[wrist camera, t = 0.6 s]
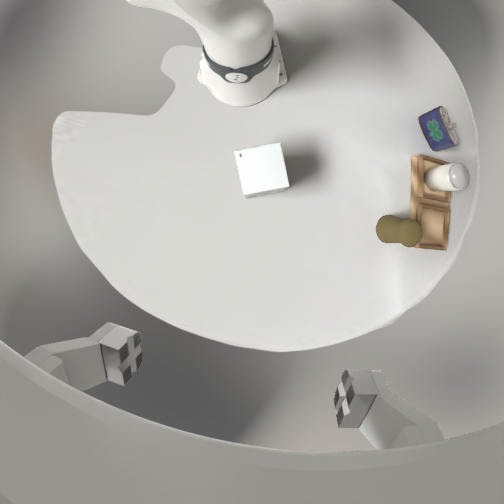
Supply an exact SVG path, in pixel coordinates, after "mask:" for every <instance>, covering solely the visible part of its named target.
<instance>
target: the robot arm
mask: <svg viewBox="0 0 504 504" xmlns="http://www.w3.org/2000/svg"><path fill="white" fill-rule="evenodd" d="M126 1H127V2H129V3H130V4H132V5H134V6H137V7H147V8H153V9H158V10H162V11H165V12H168V13H170V14H172V15H175V16H177V17H179V18H181V19H182V20H184V21H186V22H187V23H189V24H190V25H191V26H192V27H194V28H195V29H196V31H197V32H198V34H199V36H200V38H201V40H202V43H203V52H202V57H203V59H202V61H200V66H201V68H200V71H199V73H198V76H197V78H198V81H199V82H200V83H201V84H203V85H205V86H207V87H208V88H209V90H210V91H211V93H212V94H213V95H214V96H215V97H216V98H217V99H218V100H220V101H221V102H223V103H226V104H228V105H232V106H249V105H253V104H256V103H259V102H261V101H262V100H264V99H265V98H267V97H268V96H269V95H270V94H271V93H272V92H273V90H275V89H276V88H278V87H280V86H282V85H284V84H286V82H287V75H286V71H285V66H284V62H283V58H282V54H281V49H280V45H279V41H278V37H277V34H276V32H274V31H273V25H274V18H273V15H272V12H271V11H270V9H269V8H268V6H267V5H266V4H265V3H264V2H263V1H262V0H126ZM279 74H282V76H280V75H279ZM141 341H142V340H141V334H140V333H139V332H137V331H134V330H131V329H128V328H125V327H122V326H119V325H116V324H113V323H106V324H105V325H104V326H102V327H101V328H100V329H98V330H97V331H96V332H95V333H94V334H92V335H91V336H90V337H88V338H85V337H84V338H79V339H74V340H69V341H64V342H58V343H53V344H47V345H42V346H38V347H37V348H36V349H34V350H33V351H31V352H30V353H29V354H27V355H26V356H25V357H22V356H21V355H19V354H18V353H17V352H15V351H14V350H13V349H11V348H10V347H8V346H7V345H6V344H5V343H3V342H2V341H1V340H0V504H504V422H502V423H499V424H496V425H494V426H491V427H488V428H485V429H482V430H479V431H476V432H472V433H469V434H465V435H462V436H458V437H454V438H450V439H446V440H445V438H444V436H443V434H442V432H441V430H440V428H439V426H438V424H437V422H436V421H434V420H433V419H431V418H430V417H428V416H427V415H425V414H424V413H422V412H421V411H419V410H418V409H416V408H415V407H413V406H412V405H410V404H409V403H407V402H406V401H404V400H403V399H401V398H400V397H399V396H397V395H392V392H391V390H390V388H389V386H388V384H387V381H386V379H385V377H384V375H383V373H382V371H380V370H347V369H346V370H344V372H343V374H342V377H341V379H342V383H341V384H340V385H338V387H337V390H336V392H335V398H334V404H335V408H336V409H337V410H338V414H337V415H336V416H337V422H338V427H340V428H359V430H360V431H361V432H362V433H363V434H364V436H365V437H366V438H367V439H368V440H369V441H370V442H371V443H372V444H373V445H374V446H375V448H376V449H377V450H372V451H353V452H313V451H295V450H284V449H274V448H266V447H258V446H252V445H245V444H239V443H234V442H228V441H223V440H218V439H214V438H209V437H205V436H200V435H197V434H193V433H189V432H185V431H182V430H178V429H175V428H172V427H168V426H165V425H162V424H159V423H156V422H153V421H150V420H147V419H144V418H141V417H139V416H136V415H133V414H131V413H128V412H126V411H123V410H121V409H118V408H116V407H114V406H111V405H109V404H107V403H104V402H102V401H100V400H98V399H96V398H94V397H91V396H89V395H87V394H85V393H83V392H82V391H84V390H86V389H88V388H91V387H93V386H96V385H98V384H100V383H103V382H105V381H107V380H109V381H112V382H115V383H117V384H120V385H123V386H125V385H126V384H127V382H128V381H129V380H130V379H131V377H132V374H131V372H134V371H137V370H138V368H139V367H140V365H141V362H142V357H143V352H142V349H141V348H140V346H139V344H140V343H141Z"/></svg>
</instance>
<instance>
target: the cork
mask: <svg viewBox="0 0 504 504" xmlns="http://www.w3.org/2000/svg"><path fill="white" fill-rule="evenodd" d="M376 233H377V236H378V238H379V239H380V240H381V241H382V242H385V243H402V244H403V245H404V246H406V247H414V246H416V245H417V244H418V243H419V242H420V240H421V238H422V228H421V226H420V224H419V223H418V222H417V221H415V220H413V219H406V220H402V219H399V218H396V217H394V216H391V215H385V216H383V217H381V218H380V219H379V221H378V223H377V226H376Z"/></svg>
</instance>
